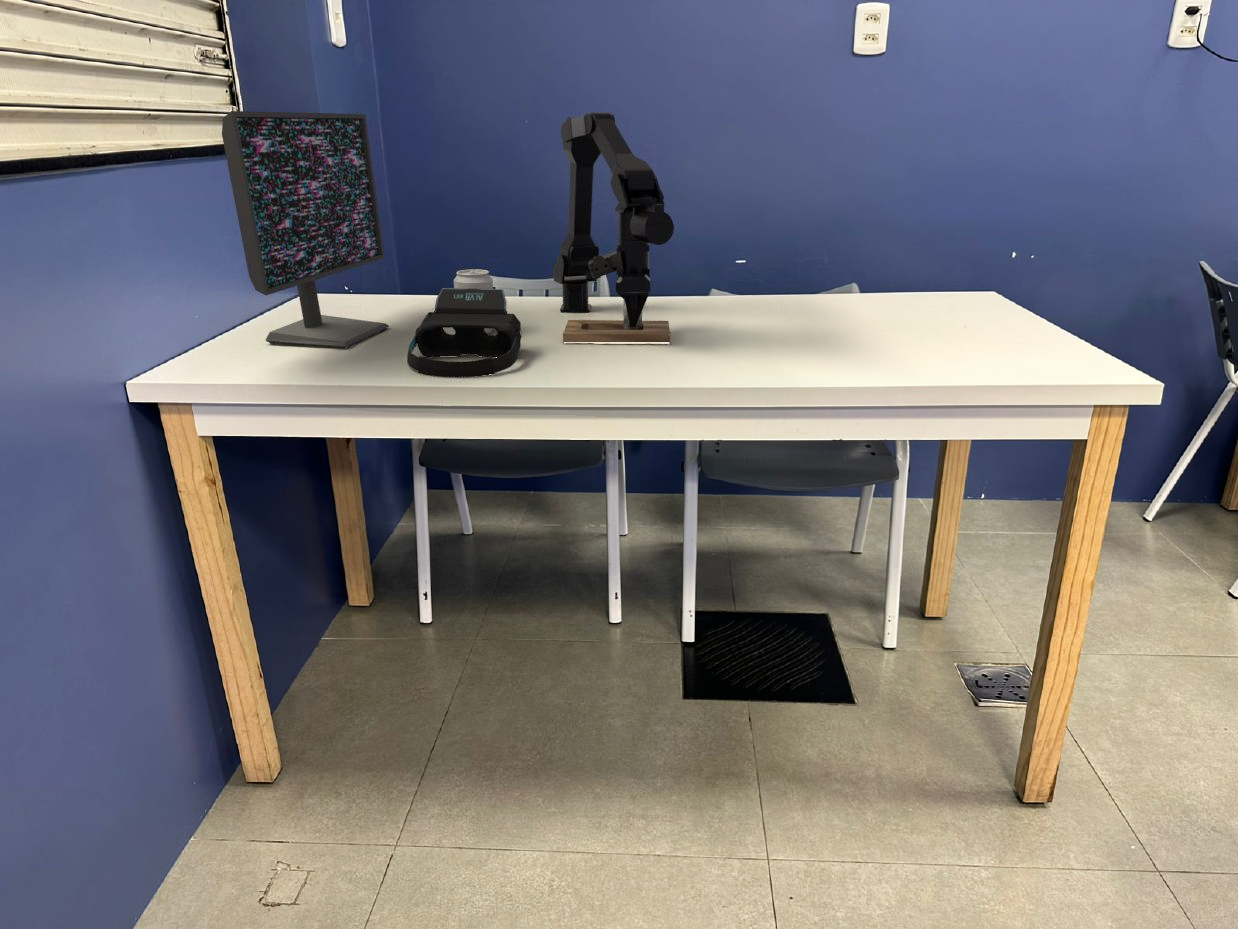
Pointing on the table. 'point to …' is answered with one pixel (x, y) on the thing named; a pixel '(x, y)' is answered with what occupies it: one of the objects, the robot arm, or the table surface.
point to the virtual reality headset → (466, 334)
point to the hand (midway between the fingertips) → (633, 321)
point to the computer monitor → (304, 211)
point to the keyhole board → (615, 331)
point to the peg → (626, 321)
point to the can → (474, 282)
